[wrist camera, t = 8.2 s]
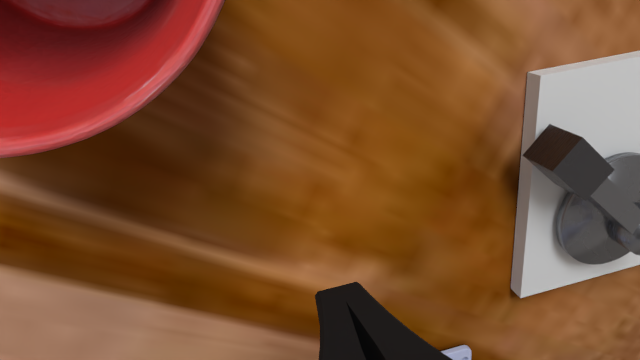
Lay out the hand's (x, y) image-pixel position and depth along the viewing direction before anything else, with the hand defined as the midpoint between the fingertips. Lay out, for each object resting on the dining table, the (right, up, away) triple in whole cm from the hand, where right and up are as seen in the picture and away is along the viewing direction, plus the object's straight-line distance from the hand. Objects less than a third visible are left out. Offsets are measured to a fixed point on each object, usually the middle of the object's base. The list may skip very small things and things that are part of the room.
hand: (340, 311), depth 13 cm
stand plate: (+18, +5, +13) cm, 22 cm away
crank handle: (+15, +3, +11) cm, 19 cm away
